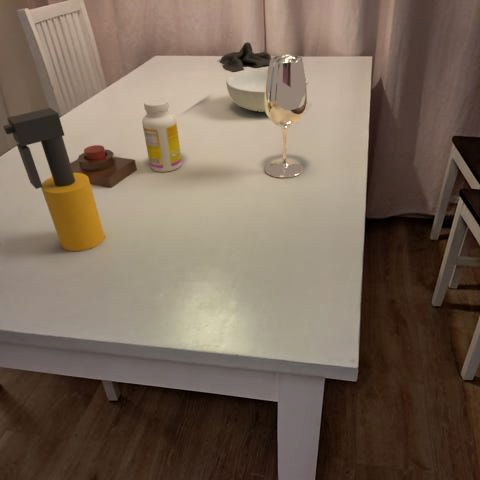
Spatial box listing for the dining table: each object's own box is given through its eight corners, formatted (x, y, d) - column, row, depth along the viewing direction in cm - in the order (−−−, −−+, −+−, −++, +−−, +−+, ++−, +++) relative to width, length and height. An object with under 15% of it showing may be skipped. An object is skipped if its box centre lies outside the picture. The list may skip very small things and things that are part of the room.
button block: (63, 179, 95) (57, 160, 92) (90, 162, 101) (85, 144, 98) (111, 188, 91) (106, 168, 88) (137, 169, 97) (133, 150, 94)
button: (81, 160, 93) (79, 151, 91) (94, 152, 95) (92, 144, 94) (98, 162, 91) (95, 153, 90) (110, 155, 94) (108, 146, 93)
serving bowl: (248, 126, 113) (247, 95, 109) (216, 103, 128) (214, 76, 123) (321, 111, 119) (323, 82, 115) (283, 91, 134) (283, 64, 129)
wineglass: (307, 176, 90) (313, 62, 77) (267, 179, 90) (266, 65, 77) (300, 160, 96) (304, 51, 83) (262, 163, 96) (261, 54, 83)
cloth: (221, 56, 169) (220, 37, 165) (272, 54, 168) (272, 35, 164) (215, 72, 153) (213, 51, 149) (272, 70, 151) (272, 49, 147)
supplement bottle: (181, 158, 100) (172, 94, 92) (183, 171, 95) (174, 104, 87) (149, 162, 99) (138, 98, 91) (150, 174, 94) (138, 108, 86)
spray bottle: (57, 261, 72) (9, 129, 59) (43, 242, 76) (-5, 115, 63) (111, 241, 76) (77, 113, 62) (94, 224, 80) (59, 101, 67)
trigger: (36, 189, 67) (21, 149, 63) (30, 183, 68) (16, 144, 64) (42, 187, 67) (29, 147, 63) (37, 181, 69) (23, 142, 65)
